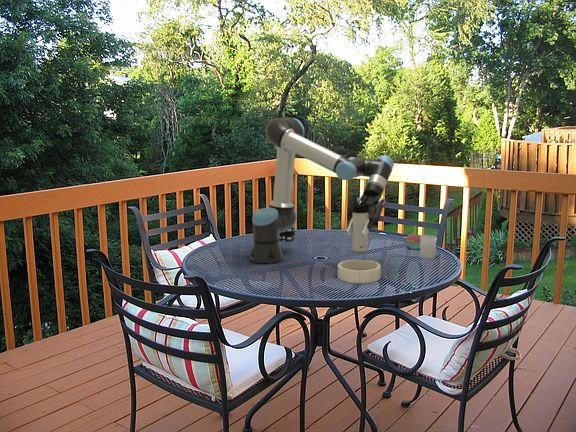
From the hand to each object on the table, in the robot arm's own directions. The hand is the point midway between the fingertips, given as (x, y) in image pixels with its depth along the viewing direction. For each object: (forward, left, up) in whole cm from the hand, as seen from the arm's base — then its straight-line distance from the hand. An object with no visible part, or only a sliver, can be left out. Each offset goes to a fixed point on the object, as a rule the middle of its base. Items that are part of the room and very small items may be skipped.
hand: (356, 233), depth 215 cm
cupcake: (+15, +57, -19) cm, 62 cm away
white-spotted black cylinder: (-52, +57, -19) cm, 79 cm away
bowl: (0, +3, -19) cm, 19 cm away
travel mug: (+1, +3, -9) cm, 9 cm away
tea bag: (+23, +43, -19) cm, 53 cm away
